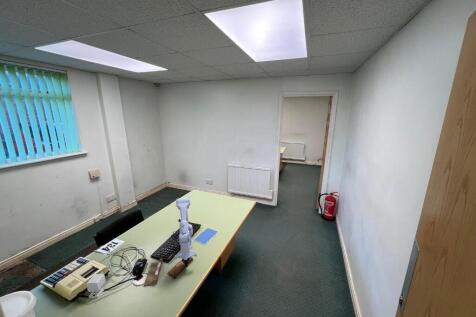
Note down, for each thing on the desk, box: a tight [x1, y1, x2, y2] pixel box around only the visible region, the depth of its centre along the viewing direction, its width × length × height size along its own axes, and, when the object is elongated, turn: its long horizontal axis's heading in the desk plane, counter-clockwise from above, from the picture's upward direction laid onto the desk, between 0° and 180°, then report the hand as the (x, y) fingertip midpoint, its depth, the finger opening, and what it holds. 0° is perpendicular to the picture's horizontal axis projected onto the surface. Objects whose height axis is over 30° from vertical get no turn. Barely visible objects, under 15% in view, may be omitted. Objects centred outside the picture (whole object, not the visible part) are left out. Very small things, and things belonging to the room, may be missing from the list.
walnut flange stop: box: [143, 258, 164, 287], centre depth 123 cm, size 18×8×4 cm, turn 10°
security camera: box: [85, 273, 107, 299], centre depth 110 cm, size 6×7×10 cm
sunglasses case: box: [166, 256, 194, 280], centre depth 129 cm, size 18×7×7 cm
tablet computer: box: [193, 227, 219, 246], centre depth 161 cm, size 19×13×1 cm, turn 151°
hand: (186, 265), depth 127 cm, fingers closed
